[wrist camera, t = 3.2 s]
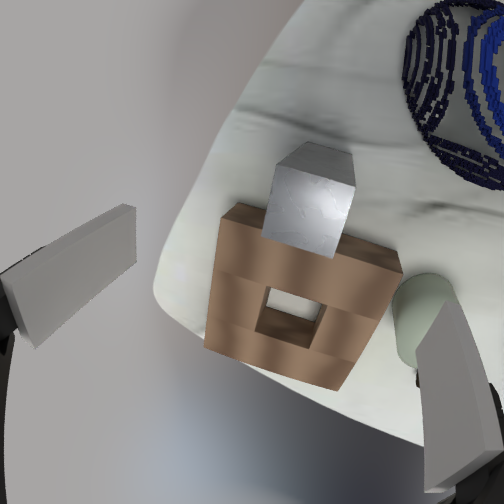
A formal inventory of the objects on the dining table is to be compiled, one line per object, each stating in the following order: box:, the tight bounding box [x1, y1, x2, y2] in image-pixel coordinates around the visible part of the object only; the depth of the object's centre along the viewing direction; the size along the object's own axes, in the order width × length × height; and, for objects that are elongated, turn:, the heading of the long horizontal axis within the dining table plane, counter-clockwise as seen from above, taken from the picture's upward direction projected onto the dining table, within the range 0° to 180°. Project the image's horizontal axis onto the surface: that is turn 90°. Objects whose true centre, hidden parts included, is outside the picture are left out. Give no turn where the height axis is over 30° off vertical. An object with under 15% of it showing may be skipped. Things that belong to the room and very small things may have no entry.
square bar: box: [261, 142, 356, 259], centre depth 23 cm, size 4×4×14 cm
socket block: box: [204, 203, 403, 391], centre depth 34 cm, size 18×18×5 cm
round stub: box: [392, 273, 460, 369], centre depth 29 cm, size 8×8×7 cm
